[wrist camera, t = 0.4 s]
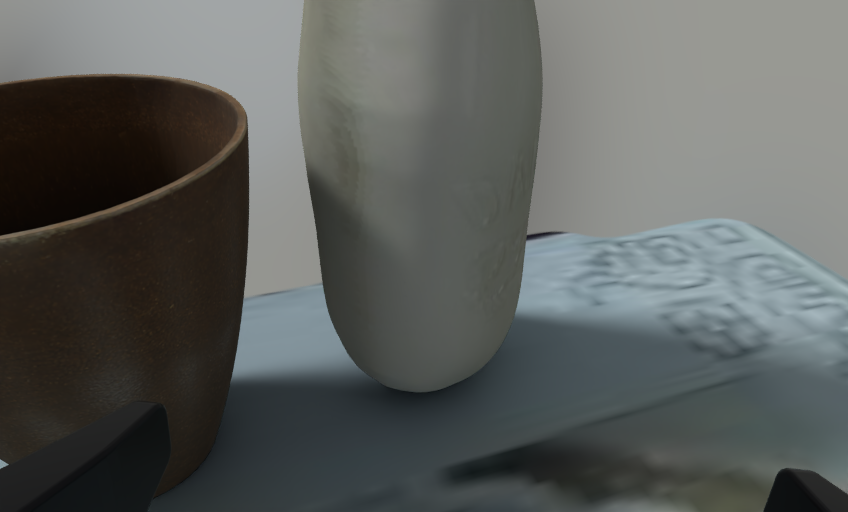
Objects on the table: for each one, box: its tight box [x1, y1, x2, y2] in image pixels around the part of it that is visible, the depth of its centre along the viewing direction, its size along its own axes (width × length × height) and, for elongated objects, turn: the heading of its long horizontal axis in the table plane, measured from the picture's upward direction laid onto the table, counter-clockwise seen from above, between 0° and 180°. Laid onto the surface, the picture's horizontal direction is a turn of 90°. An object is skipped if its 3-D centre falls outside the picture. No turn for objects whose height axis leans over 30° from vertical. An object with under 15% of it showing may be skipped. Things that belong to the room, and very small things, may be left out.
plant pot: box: [0, 74, 249, 498], centre depth 25 cm, size 15×15×16 cm
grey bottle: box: [298, 0, 542, 393], centre depth 27 cm, size 10×10×28 cm
